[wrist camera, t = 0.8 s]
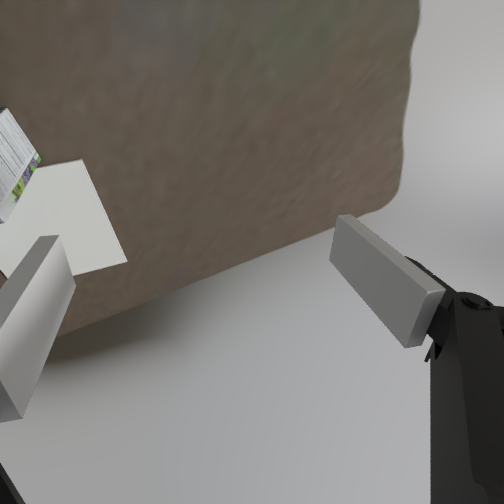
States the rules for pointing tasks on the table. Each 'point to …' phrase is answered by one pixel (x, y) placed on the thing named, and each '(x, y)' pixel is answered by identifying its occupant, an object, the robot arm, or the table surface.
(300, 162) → the table surface
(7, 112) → the syrup box
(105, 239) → the mat
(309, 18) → the table surface
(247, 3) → the table surface
